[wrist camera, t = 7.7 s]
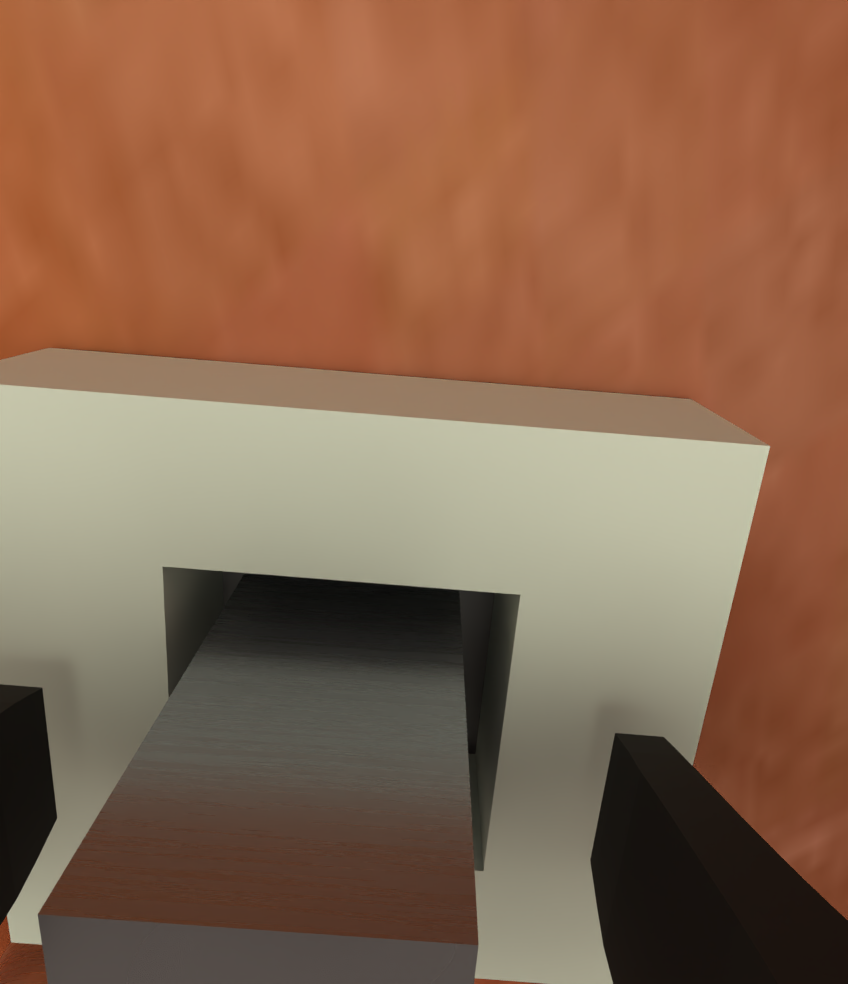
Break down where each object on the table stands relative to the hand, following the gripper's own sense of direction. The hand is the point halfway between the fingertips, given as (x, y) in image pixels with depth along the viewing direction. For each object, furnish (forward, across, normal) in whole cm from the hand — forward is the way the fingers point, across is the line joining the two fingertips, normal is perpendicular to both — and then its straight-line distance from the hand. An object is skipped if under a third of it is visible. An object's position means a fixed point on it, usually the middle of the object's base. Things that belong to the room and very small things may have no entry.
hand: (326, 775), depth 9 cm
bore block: (+4, 0, 0) cm, 4 cm away
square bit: (+3, 0, 0) cm, 3 cm away
